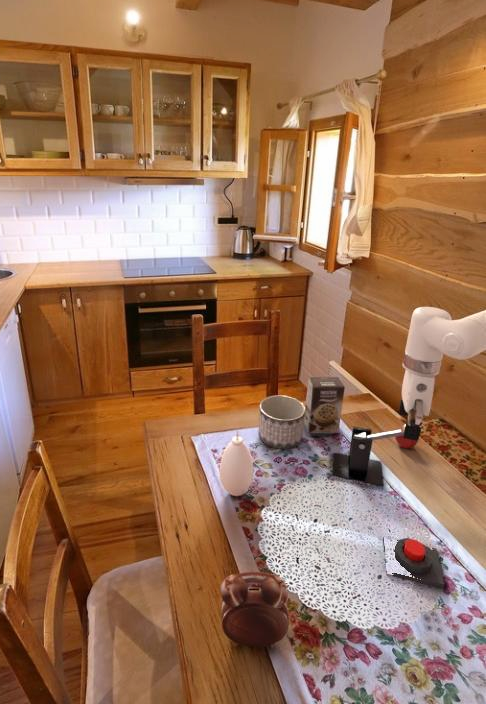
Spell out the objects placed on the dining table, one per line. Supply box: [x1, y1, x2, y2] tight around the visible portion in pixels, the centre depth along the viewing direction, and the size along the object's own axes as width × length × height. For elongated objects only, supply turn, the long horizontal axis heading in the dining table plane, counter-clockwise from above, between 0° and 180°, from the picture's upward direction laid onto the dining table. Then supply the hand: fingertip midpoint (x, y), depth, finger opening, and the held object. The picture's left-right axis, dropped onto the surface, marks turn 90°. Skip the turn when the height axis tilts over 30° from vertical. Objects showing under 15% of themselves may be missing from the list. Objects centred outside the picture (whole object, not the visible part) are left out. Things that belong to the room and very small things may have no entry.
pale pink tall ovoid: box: [219, 429, 255, 497], centre depth 95 cm, size 8×8×18 cm
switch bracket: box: [331, 426, 384, 487], centre depth 103 cm, size 12×9×12 cm
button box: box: [382, 537, 445, 590], centre depth 80 cm, size 10×8×3 cm
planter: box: [257, 394, 305, 450], centre depth 116 cm, size 13×13×10 cm
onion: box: [394, 425, 419, 449], centre depth 112 cm, size 6×6×8 cm
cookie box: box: [304, 376, 346, 434], centre depth 119 cm, size 9×6×16 cm
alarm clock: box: [220, 571, 289, 648], centre depth 65 cm, size 11×5×15 cm, turn 88°
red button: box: [404, 539, 425, 562], centre depth 79 cm, size 4×4×2 cm
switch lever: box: [354, 424, 405, 442], centre depth 99 cm, size 14×3×3 cm, turn 73°
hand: (407, 426), depth 97 cm, fingers open, 9 cm apart
